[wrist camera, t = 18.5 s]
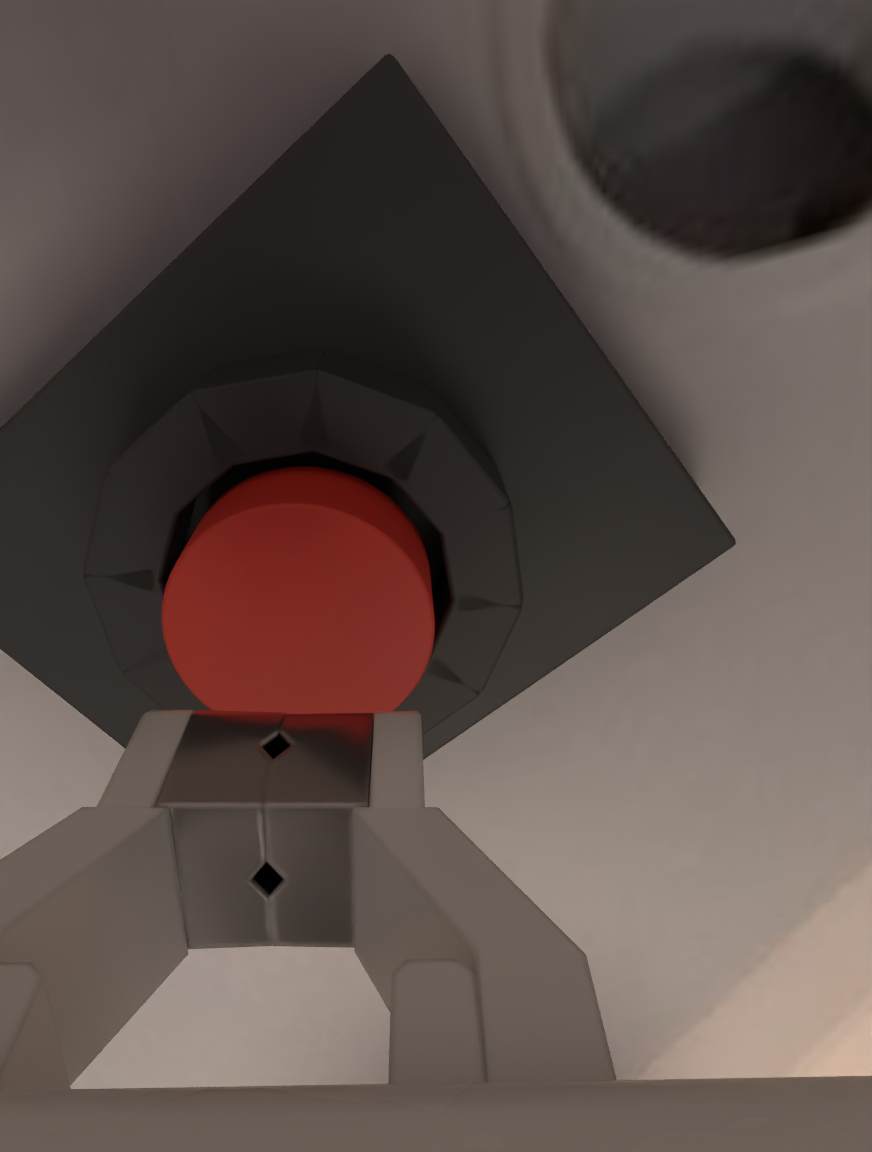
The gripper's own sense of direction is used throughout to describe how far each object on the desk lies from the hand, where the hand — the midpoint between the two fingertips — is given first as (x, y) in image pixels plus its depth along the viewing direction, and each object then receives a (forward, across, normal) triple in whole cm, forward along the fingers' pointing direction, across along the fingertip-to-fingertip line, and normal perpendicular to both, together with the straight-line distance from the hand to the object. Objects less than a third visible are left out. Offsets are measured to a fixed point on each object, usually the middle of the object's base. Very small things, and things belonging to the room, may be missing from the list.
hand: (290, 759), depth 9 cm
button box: (+8, 0, 0) cm, 8 cm away
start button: (+5, 0, 0) cm, 5 cm away
